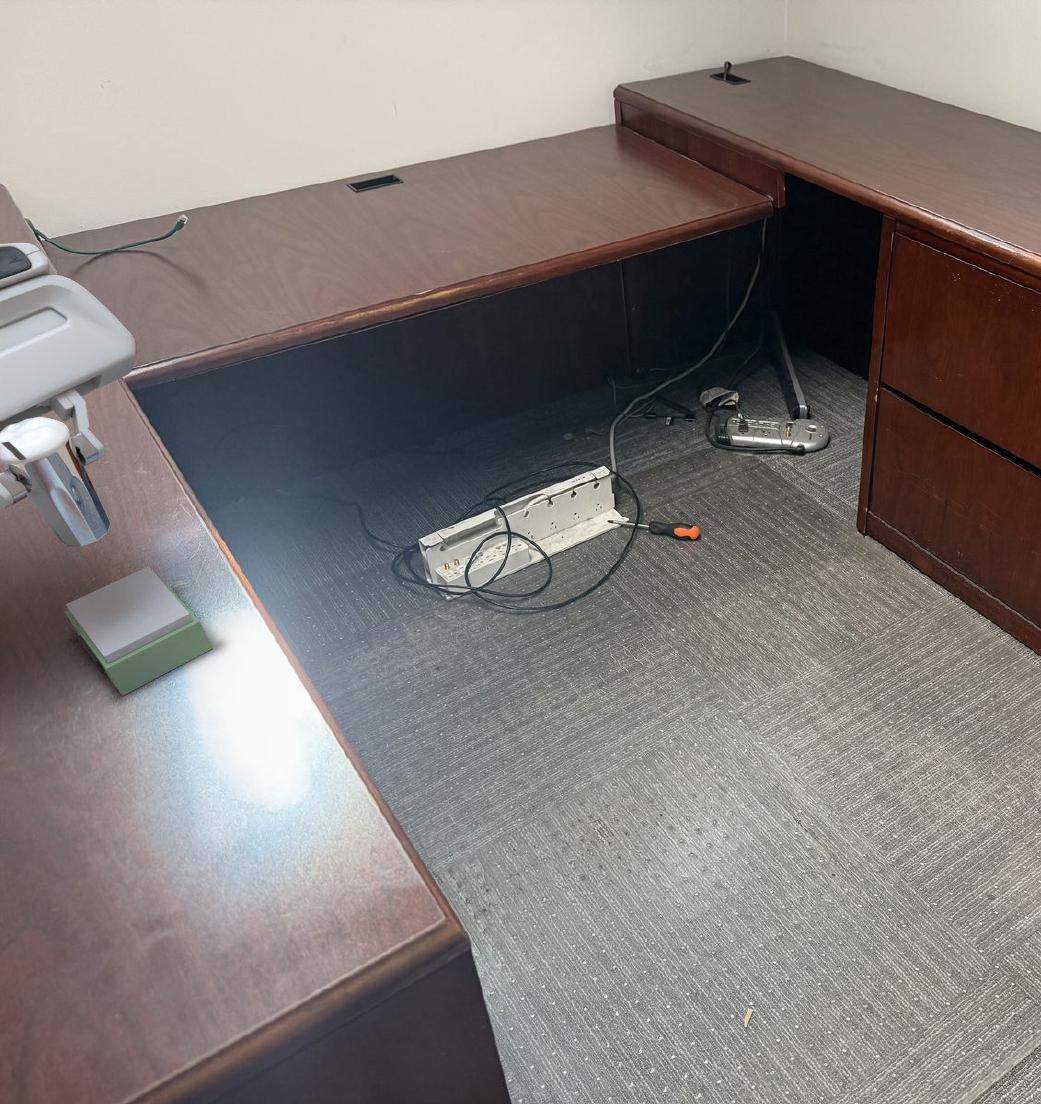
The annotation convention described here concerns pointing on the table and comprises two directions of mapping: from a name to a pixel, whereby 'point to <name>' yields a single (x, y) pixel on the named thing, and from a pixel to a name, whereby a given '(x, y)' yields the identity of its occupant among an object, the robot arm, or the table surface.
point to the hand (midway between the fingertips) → (57, 478)
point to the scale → (137, 629)
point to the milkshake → (54, 478)
